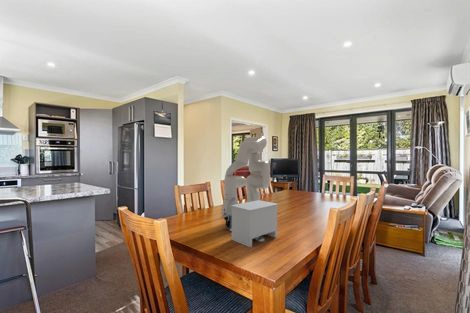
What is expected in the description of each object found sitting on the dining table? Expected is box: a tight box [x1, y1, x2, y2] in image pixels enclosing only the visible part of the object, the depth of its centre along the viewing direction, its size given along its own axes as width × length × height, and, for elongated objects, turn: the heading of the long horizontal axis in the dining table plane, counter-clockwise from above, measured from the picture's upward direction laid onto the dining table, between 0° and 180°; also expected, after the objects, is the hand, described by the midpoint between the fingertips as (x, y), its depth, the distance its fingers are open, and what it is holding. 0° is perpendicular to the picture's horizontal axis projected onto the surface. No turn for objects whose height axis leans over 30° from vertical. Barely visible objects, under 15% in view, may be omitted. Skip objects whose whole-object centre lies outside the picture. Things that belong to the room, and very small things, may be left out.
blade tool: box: [225, 215, 256, 241], centre depth 137 cm, size 5×24×9 cm, turn 42°
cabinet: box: [230, 199, 279, 248], centre depth 129 cm, size 23×15×19 cm, turn 132°
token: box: [254, 235, 266, 243], centre depth 126 cm, size 5×5×2 cm
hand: (230, 225), depth 145 cm, fingers closed on blade tool, 4 cm apart
